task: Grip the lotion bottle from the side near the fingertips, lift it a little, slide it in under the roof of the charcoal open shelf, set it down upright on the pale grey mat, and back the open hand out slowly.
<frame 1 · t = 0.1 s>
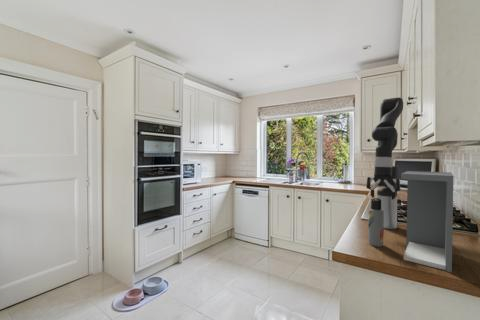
hand: (382, 198, 114), 17 cm above the counter, tool pointing down, fingers open, 8 cm apart
shelf mat: (425, 256, 87), on the counter
open shelf: (425, 255, 88), on the counter
lotion bottle: (375, 244, 99), on the counter
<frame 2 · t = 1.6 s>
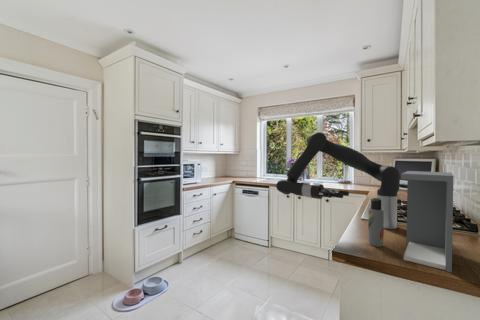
hand: (345, 194, 107), 20 cm above the counter, tool horizontal, fingers open, 8 cm apart
nothing on the counter moved.
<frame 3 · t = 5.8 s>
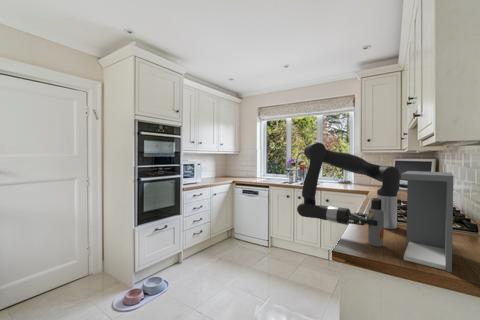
hand: (378, 221, 98), 10 cm above the counter, tool horizontal, fingers open, 5 cm apart
lotion bottle: (375, 244, 99), on the counter, touching gripper
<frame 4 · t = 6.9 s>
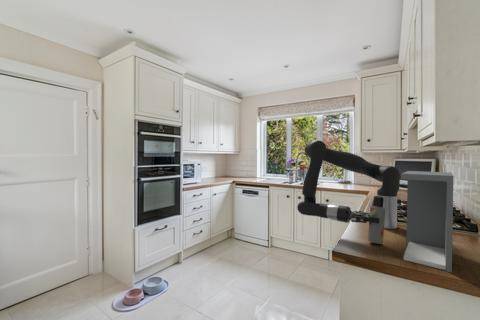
hand: (379, 220, 98), 11 cm above the counter, tool horizontal, fingers closed on lotion bottle, 2 cm apart
lotion bottle: (375, 242, 99), point 1 cm above the counter, touching gripper
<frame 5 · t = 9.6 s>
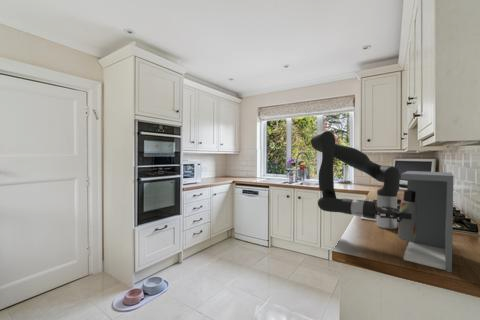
hand: (411, 215, 90), 15 cm above the counter, tool horizontal, fingers closed on lotion bottle, 2 cm apart
lotion bottle: (406, 240, 92), point 4 cm above the counter, touching gripper
when the fingers open (12 cm above the counter, at t = 12.4 s): lotion bottle stays where it is, resting on shelf mat.
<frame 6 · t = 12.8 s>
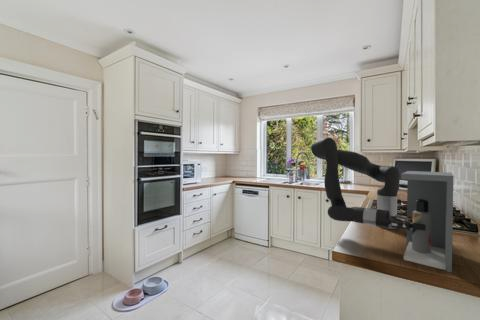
hand: (425, 225, 88), 12 cm above the counter, tool horizontal, fingers open, 6 cm apart
lotion bottle: (421, 251, 89), point 1 cm above the counter, touching shelf mat
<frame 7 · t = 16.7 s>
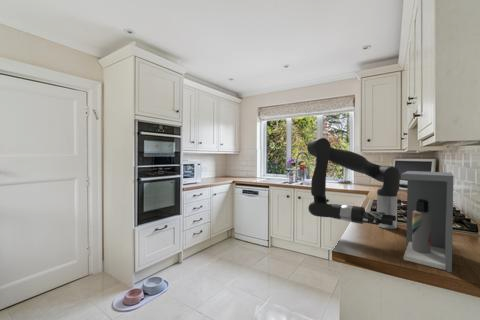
hand: (394, 220, 94), 12 cm above the counter, tool horizontal, fingers open, 8 cm apart
nothing on the counter moved.
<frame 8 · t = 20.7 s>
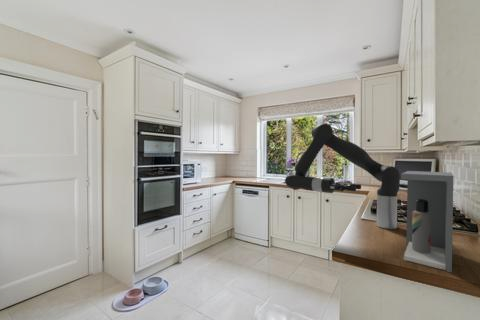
hand: (358, 187, 103), 24 cm above the counter, tool horizontal, fingers open, 8 cm apart
nothing on the counter moved.
at the end: lotion bottle inside the target area (1.0 cm from its centre), point 1.3 cm above the counter; lotion bottle tilted 0°; the gripper is holding nothing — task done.
